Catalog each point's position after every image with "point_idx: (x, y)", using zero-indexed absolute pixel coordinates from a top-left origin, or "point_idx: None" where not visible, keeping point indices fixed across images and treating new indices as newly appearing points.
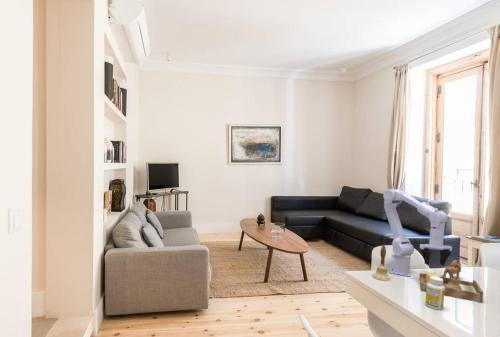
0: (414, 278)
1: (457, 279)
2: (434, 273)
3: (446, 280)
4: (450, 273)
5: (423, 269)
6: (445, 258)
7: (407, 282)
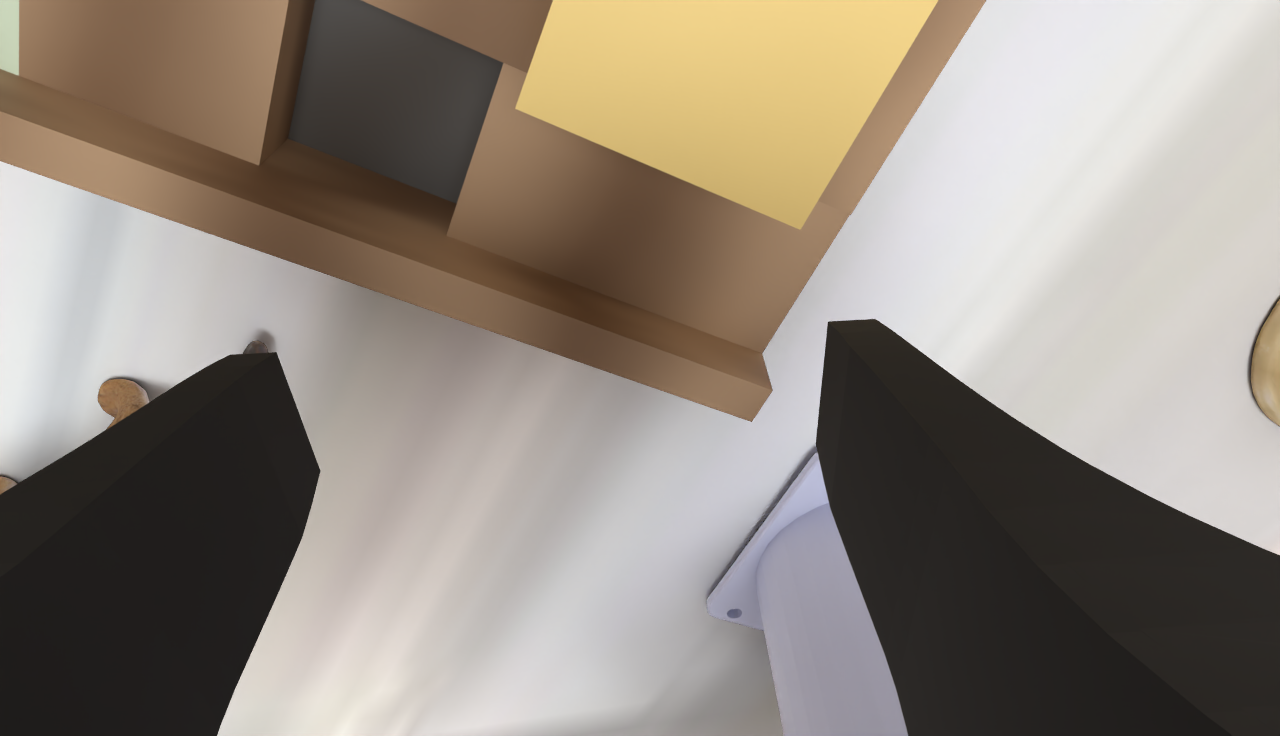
0: (777, 395)
1: (7, 479)
2: (622, 148)
3: (281, 186)
4: None
5: (421, 726)
6: (28, 523)
7: (1072, 171)
